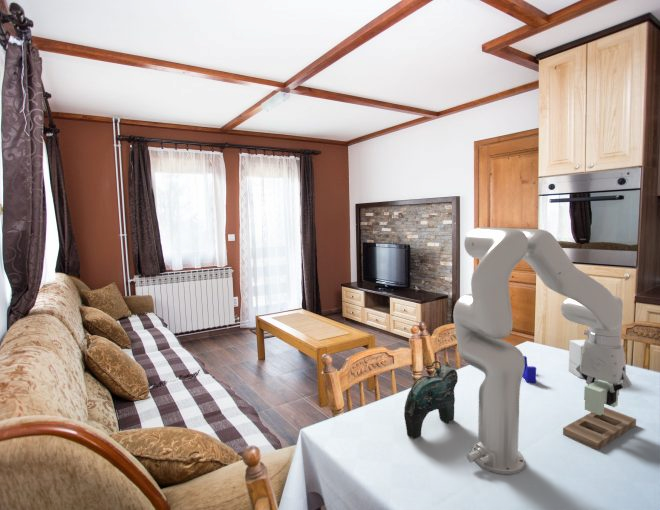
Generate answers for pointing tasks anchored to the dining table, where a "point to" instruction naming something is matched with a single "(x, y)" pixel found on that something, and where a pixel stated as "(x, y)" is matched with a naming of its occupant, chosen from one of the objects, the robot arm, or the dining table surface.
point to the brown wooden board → (599, 428)
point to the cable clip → (529, 373)
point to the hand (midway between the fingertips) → (601, 399)
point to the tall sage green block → (597, 396)
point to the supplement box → (575, 356)
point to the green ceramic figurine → (430, 398)
